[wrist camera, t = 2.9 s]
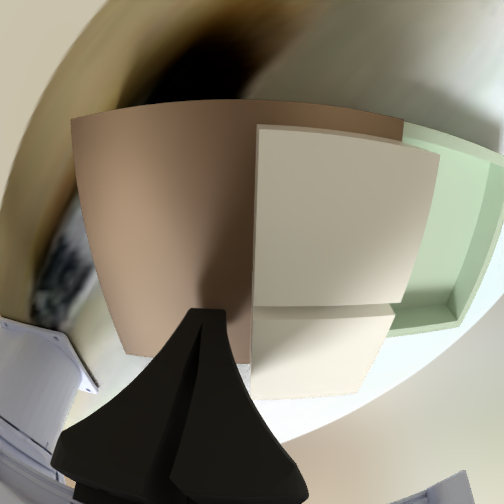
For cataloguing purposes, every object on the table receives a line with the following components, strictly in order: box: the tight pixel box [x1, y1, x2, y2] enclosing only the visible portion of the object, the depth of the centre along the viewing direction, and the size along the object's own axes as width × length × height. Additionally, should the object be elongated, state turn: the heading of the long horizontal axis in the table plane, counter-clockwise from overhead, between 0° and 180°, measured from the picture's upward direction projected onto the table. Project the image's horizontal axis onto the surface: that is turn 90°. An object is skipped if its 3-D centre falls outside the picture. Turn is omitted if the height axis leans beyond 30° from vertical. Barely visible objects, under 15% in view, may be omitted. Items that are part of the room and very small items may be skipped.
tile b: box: [253, 124, 440, 306], centre depth 7 cm, size 4×4×2 cm
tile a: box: [250, 271, 395, 400], centre depth 10 cm, size 4×4×2 cm
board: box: [71, 99, 404, 364], centre depth 11 cm, size 11×11×4 cm
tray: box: [386, 121, 504, 338], centre depth 12 cm, size 9×11×2 cm
